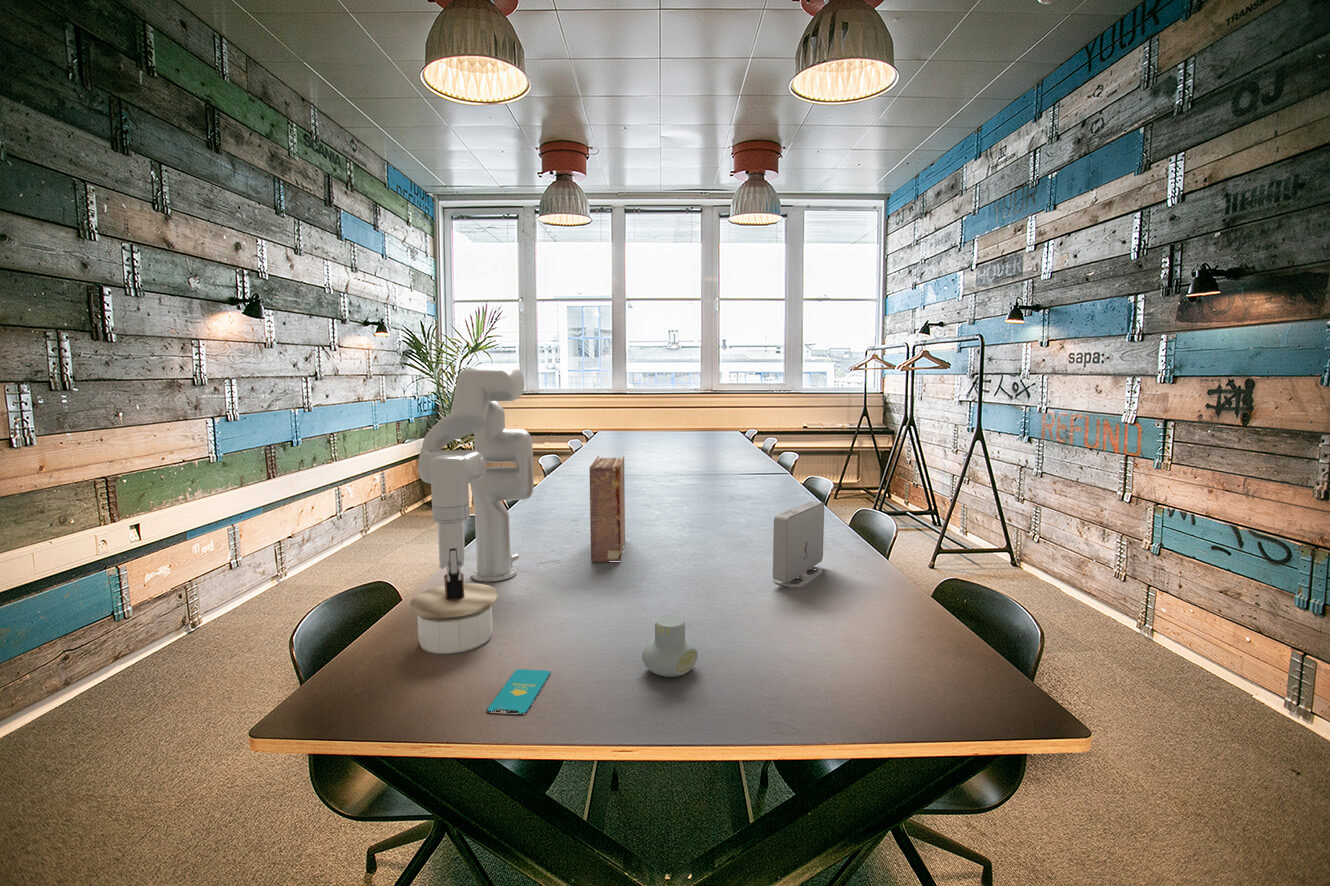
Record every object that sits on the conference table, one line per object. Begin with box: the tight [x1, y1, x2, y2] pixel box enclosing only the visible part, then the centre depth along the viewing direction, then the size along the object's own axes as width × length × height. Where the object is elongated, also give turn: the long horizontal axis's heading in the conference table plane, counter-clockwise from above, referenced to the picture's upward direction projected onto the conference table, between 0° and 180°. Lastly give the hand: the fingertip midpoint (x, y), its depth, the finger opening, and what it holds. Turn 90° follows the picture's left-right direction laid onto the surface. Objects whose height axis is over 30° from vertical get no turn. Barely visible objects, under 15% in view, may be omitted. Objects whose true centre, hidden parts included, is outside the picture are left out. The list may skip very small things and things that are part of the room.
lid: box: [409, 572, 499, 618], centre depth 130 cm, size 18×18×6 cm
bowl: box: [416, 605, 494, 655], centre depth 131 cm, size 15×15×7 cm
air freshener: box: [641, 615, 699, 678], centre depth 116 cm, size 11×8×10 cm
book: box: [589, 455, 626, 563], centre depth 195 cm, size 25×9×30 cm, turn 1°
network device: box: [772, 500, 825, 588], centre depth 170 cm, size 26×9×20 cm, turn 143°
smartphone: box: [486, 668, 552, 714], centre depth 109 cm, size 7×1×15 cm
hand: (454, 593), depth 130 cm, fingers closed on lid, 4 cm apart
